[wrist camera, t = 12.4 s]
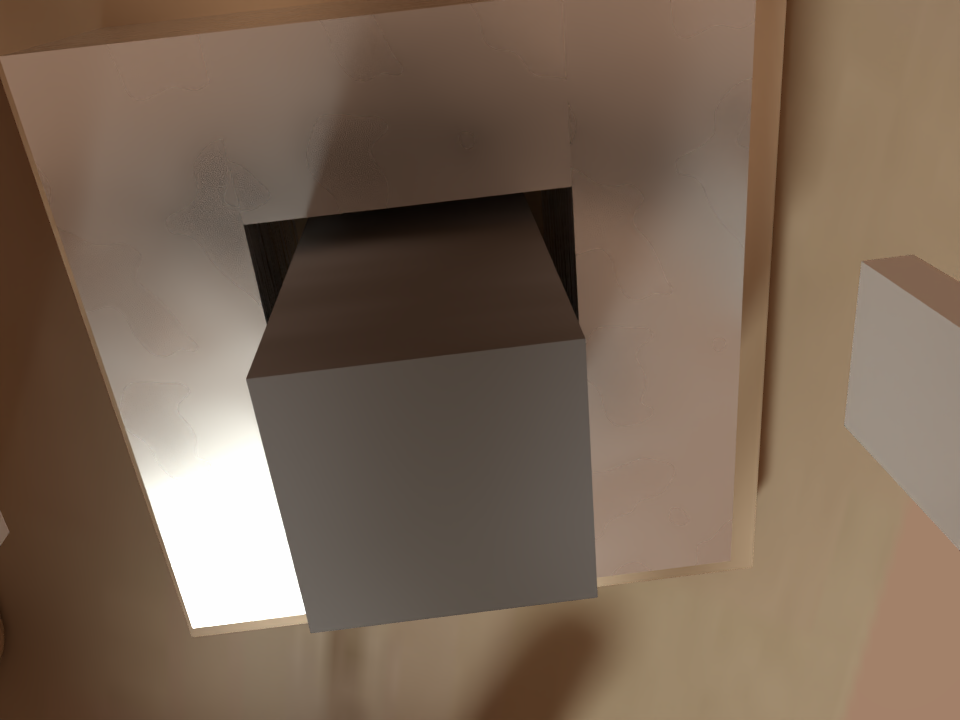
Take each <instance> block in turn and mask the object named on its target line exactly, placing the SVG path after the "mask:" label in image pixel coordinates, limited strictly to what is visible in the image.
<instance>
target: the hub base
mask: <svg viewBox="0 0 960 720" xmlns="http://www.w3.org/2000/svg"><path fill="white" fill-rule="evenodd" d="M337 1H346V0H0V56H3V55H6V54H10V53H13V52H17V51H21V50H24V49H28V48H31V47H35V46H38V45H42V44H46V43H49V42H53V41H56V40H60V39H64V38H67V37H71V36H74V35H78V34H81V33H85V32H89V31H92V30H96V29H99V28H105V27H114V26H123V25H132V24H141V23H150V22H159V21H168V20H176V19H185V18H194V17H203V16H212V15H221V14H230V13H239V12H248V11H257V10H265V9H274V8H283V7H292V6H301V5H310V4H319V3H328V2H337ZM786 3H787V0H756V11H755V33H754V55H753V77H752V99H751V121H750V144H749V166H748V188H747V210H746V232H745V254H744V276H743V298H742V320H741V343H740V365H739V387H738V409H737V431H736V453H735V475H734V497H733V519H732V542H731V561H727V562H719V563H711V564H703V565H695V566H687V567H679V568H670V569H662V570H654V571H646V572H638V573H630V574H622V575H614V576H606V577H598V578H597V573H596V552H595V530H594V509H593V488H592V467H591V446H590V424H589V403H588V382H587V361H586V340H585V336H584V334H583V332H582V329H581V327H580V325H579V322H578V320H577V318H576V315H575V313H574V311H573V308H572V306H571V304H570V301H569V299H568V296H567V294H566V292H565V289H564V287H563V285H562V282H561V280H560V278H559V275H558V273H557V271H556V268H555V266H554V264H553V261H552V259H551V257H550V254H549V252H548V250H547V247H546V245H545V243H544V231H543V216H542V201H541V190H538V191H530V192H521V193H513V194H504V195H496V196H487V197H478V198H470V199H461V200H453V201H444V202H436V203H427V204H418V205H410V206H401V207H393V208H384V209H376V210H367V211H358V212H350V213H341V214H333V215H324V216H316V217H307V218H298V219H294V220H295V225H296V229H297V234H298V239H299V243H298V245H297V248H296V251H295V253H294V256H293V258H292V261H291V264H290V266H289V269H288V271H287V274H286V276H285V279H284V282H283V284H282V287H281V289H280V292H279V295H278V297H277V300H276V302H275V305H274V308H273V310H272V313H271V315H270V318H269V321H268V323H267V326H266V328H265V331H264V333H263V336H262V339H261V341H260V344H259V346H258V349H257V352H256V354H255V357H254V359H253V362H252V365H251V367H250V370H249V372H248V375H247V378H246V382H247V386H248V389H249V393H250V397H251V401H252V405H253V409H254V413H255V417H256V421H257V425H258V429H259V433H260V436H261V440H262V444H263V448H264V452H265V456H266V460H267V464H268V468H269V472H270V476H271V479H272V483H273V487H274V491H275V495H276V499H277V503H278V507H279V511H280V515H281V519H282V523H283V526H284V530H285V534H286V538H287V542H288V546H289V550H290V554H291V558H292V562H293V566H294V570H295V573H296V577H297V581H298V585H299V589H300V593H301V597H302V601H303V605H304V609H305V613H306V614H302V615H294V616H286V617H278V618H270V619H262V620H254V621H246V622H238V623H230V624H222V625H213V626H205V627H197V628H193V627H192V624H191V621H190V618H189V615H188V612H187V609H186V606H185V603H184V600H183V597H182V594H181V592H180V589H179V586H178V583H177V580H176V577H175V574H174V571H173V568H172V565H171V562H170V559H169V556H168V553H167V550H166V547H165V544H164V541H163V538H162V536H161V533H160V530H159V527H158V524H157V521H156V518H155V515H154V512H153V509H152V506H151V503H150V500H149V497H148V494H147V491H146V488H145V485H144V482H143V480H142V477H141V474H140V471H139V468H138V465H137V462H136V459H135V456H134V453H133V450H132V447H131V444H130V441H129V438H128V435H127V432H126V429H125V426H124V424H123V421H122V418H121V415H120V412H119V409H118V406H117V403H116V400H115V397H114V394H113V391H112V388H111V385H110V382H109V379H108V376H107V373H106V370H105V368H104V365H103V362H102V359H101V356H100V353H99V350H98V347H97V344H96V341H95V338H94V335H93V332H92V329H91V326H90V323H89V320H88V317H87V314H86V312H85V309H84V306H83V303H82V300H81V297H80V294H79V291H78V288H77V285H76V282H75V279H74V276H73V273H72V270H71V267H70V264H69V261H68V258H67V255H66V253H65V250H64V247H63V244H62V241H61V238H60V235H59V232H58V229H57V226H56V223H55V220H54V217H53V214H52V211H51V208H50V205H49V202H48V199H47V197H46V194H45V191H44V188H43V185H42V182H41V179H40V176H39V173H38V170H37V167H36V164H35V161H34V158H33V155H32V152H31V149H30V146H29V143H28V141H27V138H26V135H25V132H24V129H23V126H22V123H21V120H20V117H19V114H18V111H17V108H16V105H15V102H14V99H13V96H12V93H11V90H10V87H9V85H8V82H7V79H6V76H5V73H4V70H3V67H2V64H1V61H0V78H1V81H2V84H3V87H4V90H5V93H6V96H7V98H8V101H9V104H10V107H11V110H12V113H13V116H14V119H15V122H16V125H17V128H18V131H19V133H20V136H21V139H22V142H23V145H24V148H25V151H26V154H27V157H28V160H29V163H30V166H31V169H32V171H33V174H34V177H35V180H36V183H37V186H38V189H39V192H40V195H41V198H42V201H43V204H44V207H45V209H46V212H47V215H48V218H49V221H50V224H51V227H52V230H53V233H54V236H55V239H56V242H57V245H58V247H59V250H60V253H61V256H62V259H63V262H64V265H65V268H66V271H67V274H68V277H69V280H70V283H71V285H72V288H73V291H74V294H75V297H76V300H77V303H78V306H79V309H80V312H81V315H82V318H83V321H84V323H85V326H86V329H87V332H88V335H89V338H90V341H91V344H92V347H93V350H94V353H95V356H96V358H97V361H98V364H99V367H100V370H101V373H102V376H103V379H104V382H105V385H106V388H107V391H108V394H109V396H110V399H111V402H112V405H113V408H114V411H115V414H116V417H117V420H118V423H119V426H120V429H121V432H122V434H123V437H124V440H125V443H126V446H127V449H128V452H129V455H130V458H131V461H132V464H133V467H134V470H135V472H136V475H137V478H138V481H139V484H140V487H141V490H142V493H143V496H144V499H145V502H146V505H147V508H148V510H149V513H150V516H151V519H152V522H153V525H154V528H155V531H156V534H157V537H158V540H159V543H160V546H161V548H162V551H163V554H164V557H165V560H166V563H167V566H168V569H169V572H170V575H171V578H172V581H173V584H174V586H175V589H176V592H177V595H178V598H179V601H180V604H181V607H182V610H183V613H184V616H185V619H186V621H187V624H188V627H189V630H190V633H191V636H192V637H200V636H208V635H216V634H224V633H232V632H240V631H248V630H256V629H264V628H272V627H280V626H288V625H296V624H304V623H308V624H309V628H310V632H311V633H317V632H325V631H333V630H341V629H349V628H357V627H365V626H373V625H381V624H389V623H397V622H405V621H413V620H421V619H429V618H437V617H445V616H453V615H461V614H469V613H477V612H485V611H493V610H501V609H509V608H517V607H525V606H533V605H541V604H549V603H557V602H565V601H573V600H581V599H589V598H597V597H598V594H597V587H600V586H608V585H616V584H624V583H632V582H640V581H648V580H656V579H664V578H672V577H680V576H688V575H696V574H704V573H712V572H720V571H728V570H736V569H744V568H752V566H753V549H754V533H755V516H756V500H757V483H758V467H759V450H760V434H761V417H762V400H763V384H764V367H765V351H766V334H767V318H768V301H769V285H770V268H771V252H772V235H773V218H774V202H775V185H776V169H777V152H778V136H779V119H780V103H781V86H782V69H783V53H784V36H785V20H786Z"/></svg>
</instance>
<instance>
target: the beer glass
mask: <svg viewBox="0 0 960 720" xmlns="http://www.w3.org/2000/svg"><path fill="white" fill-rule="evenodd" d="M4 641H5V635H4V627H3V622H2V619H1V616H0V660H1V657H2V654H3V649H4Z"/></svg>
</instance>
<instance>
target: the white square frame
mask: <svg viewBox="0 0 960 720" xmlns="http://www.w3.org/2000/svg"><path fill="white" fill-rule="evenodd" d="M755 11H756V0H346V1H337V2H328V3H319V4H310V5H301V6H292V7H283V8H274V9H265V10H257V11H248V12H239V13H230V14H221V15H212V16H203V17H194V18H185V19H176V20H168V21H159V22H150V23H141V24H132V25H123V26H114V27H105V28H99V29H96V30H92V31H89V32H85V33H81V34H78V35H74V36H71V37H67V38H64V39H60V40H56V41H53V42H49V43H46V44H42V45H38V46H35V47H31V48H28V49H24V50H21V51H17V52H13V53H10V54H6V55H3V56H0V61H1V64H2V67H3V70H4V73H5V76H6V79H7V82H8V85H9V87H10V90H11V93H12V96H13V99H14V102H15V105H16V108H17V111H18V114H19V117H20V120H21V123H22V126H23V129H24V132H25V135H26V138H27V141H28V143H29V146H30V149H31V152H32V155H33V158H34V161H35V164H36V167H37V170H38V173H39V176H40V179H41V182H42V185H43V188H44V191H45V194H46V197H47V199H48V202H49V205H50V208H51V211H52V214H53V217H54V220H55V223H56V226H57V229H58V232H59V235H60V238H61V241H62V244H63V247H64V250H65V253H66V255H67V258H68V261H69V264H70V267H71V270H72V273H73V276H74V279H75V282H76V285H77V288H78V291H79V294H80V297H81V300H82V303H83V306H84V309H85V312H86V314H87V317H88V320H89V323H90V326H91V329H92V332H93V335H94V338H95V341H96V344H97V347H98V350H99V353H100V356H101V359H102V362H103V365H104V368H105V370H106V373H107V376H108V379H109V382H110V385H111V388H112V391H113V394H114V397H115V400H116V403H117V406H118V409H119V412H120V415H121V418H122V421H123V424H124V426H125V429H126V432H127V435H128V438H129V441H130V444H131V447H132V450H133V453H134V456H135V459H136V462H137V465H138V468H139V471H140V474H141V477H142V480H143V482H144V485H145V488H146V491H147V494H148V497H149V500H150V503H151V506H152V509H153V512H154V515H155V518H156V521H157V524H158V527H159V530H160V533H161V536H162V538H163V541H164V544H165V547H166V550H167V553H168V556H169V559H170V562H171V565H172V568H173V571H174V574H175V577H176V580H177V583H178V586H179V589H180V592H181V594H182V597H183V600H184V603H185V606H186V609H187V612H188V615H189V618H190V621H191V624H192V627H193V628H197V627H205V626H213V625H222V624H230V623H238V622H246V621H254V620H262V619H270V618H278V617H286V616H294V615H302V614H306V613H305V609H304V605H303V601H302V597H301V593H300V589H299V585H298V581H297V577H296V573H295V570H294V566H293V562H292V558H291V554H290V550H289V546H288V542H287V538H286V534H285V530H284V526H283V523H282V519H281V515H280V511H279V507H278V503H277V499H276V495H275V491H274V487H273V483H272V479H271V476H270V472H269V468H268V464H267V460H266V456H265V452H264V448H263V444H262V440H261V436H260V433H259V429H258V425H257V421H256V417H255V413H254V409H253V405H252V401H251V397H250V393H249V389H248V386H247V382H246V378H247V375H248V372H249V370H250V367H251V365H252V362H253V359H254V357H255V354H256V352H257V349H258V346H259V344H260V341H261V339H262V336H263V333H264V331H265V328H266V326H267V323H268V321H269V318H270V315H271V313H272V310H273V308H274V305H275V302H276V300H277V297H278V295H279V292H280V289H281V287H282V284H283V282H284V279H285V276H286V274H287V271H288V269H289V266H290V264H291V261H292V258H293V256H294V253H295V251H296V248H297V245H298V243H299V239H298V234H297V229H296V225H295V220H294V219H298V218H307V217H316V216H324V215H333V214H341V213H350V212H358V211H367V210H376V209H384V208H393V207H401V206H410V205H418V204H427V203H436V202H444V201H453V200H461V199H470V198H478V197H487V196H496V195H504V194H513V193H521V192H530V191H538V190H541V201H542V216H543V231H544V243H545V245H546V247H547V250H548V252H549V254H550V257H551V259H552V261H553V264H554V266H555V268H556V271H557V273H558V275H559V278H560V280H561V282H562V285H563V287H564V289H565V292H566V294H567V296H568V299H569V301H570V304H571V306H572V308H573V311H574V313H575V315H576V318H577V320H578V322H579V325H580V327H581V329H582V332H583V334H584V336H585V340H586V361H587V382H588V403H589V424H590V446H591V467H592V488H593V509H594V530H595V552H596V573H597V578H598V577H606V576H614V575H622V574H630V573H638V572H646V571H654V570H662V569H670V568H679V567H687V566H695V565H703V564H711V563H719V562H727V561H731V542H732V519H733V497H734V475H735V453H736V431H737V409H738V387H739V365H740V343H741V320H742V298H743V276H744V254H745V232H746V210H747V188H748V166H749V144H750V121H751V99H752V77H753V55H754V33H755Z"/></svg>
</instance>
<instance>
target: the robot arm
mask: <svg viewBox="0 0 960 720" xmlns="http://www.w3.org/2000/svg"><path fill="white" fill-rule="evenodd" d="M844 426H845V427H846V428H847V429H848V430H849V431H850V433H851V434H852V435H853V436H854V437H855V438H856V439H857V440H858V441H859V442H860V443H861V444H862V445H863V447H864V448H865V449H866V450H867V451H868V452H869V453H870V454H871V455H872V456H873V457H874V458H875V460H876V461H877V462H878V463H879V464H880V465H881V466H882V467H883V468H884V469H885V470H886V471H887V473H888V474H889V475H890V476H891V477H892V478H893V479H894V480H895V481H896V482H897V483H898V484H899V485H900V487H901V488H902V489H903V490H904V491H905V492H906V493H907V494H908V495H909V496H910V497H911V498H912V500H913V501H914V502H915V503H916V504H917V505H918V506H919V507H920V508H921V509H922V510H923V511H924V512H925V513H926V514H927V516H928V517H929V518H930V519H931V520H932V521H933V522H934V523H935V524H936V525H937V527H938V528H939V529H940V530H941V531H942V532H943V533H944V534H945V535H946V536H947V537H948V538H949V539H950V541H951V542H952V543H953V544H954V545H955V546H956V547H957V548H958V549H959V550H960V282H959V281H957V280H955V279H954V278H952V277H950V276H948V275H947V274H945V273H943V272H942V271H940V270H938V269H937V268H935V267H933V266H932V265H930V264H928V263H927V262H925V261H923V260H922V259H920V258H918V257H917V256H915V255H908V256H899V257H891V258H883V259H875V260H867V261H861V271H860V280H859V290H858V299H857V309H856V318H855V328H854V337H853V347H852V356H851V366H850V375H849V385H848V394H847V404H846V413H845V423H844ZM8 534H9V530H8V527H7V525H6V523H5V520H4V518H3V516H2V513H1V511H0V546H1V544H2V543H3V541H4V540H5V538H6V537H7V535H8Z"/></svg>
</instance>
